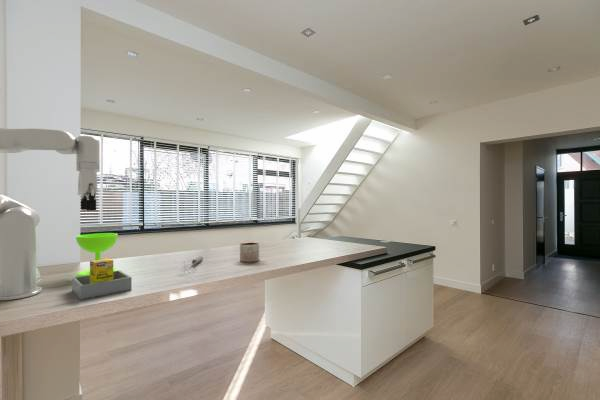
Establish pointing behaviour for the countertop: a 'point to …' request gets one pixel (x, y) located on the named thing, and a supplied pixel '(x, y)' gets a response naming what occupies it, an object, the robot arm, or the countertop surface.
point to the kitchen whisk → (194, 262)
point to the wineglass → (96, 245)
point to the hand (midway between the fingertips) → (88, 210)
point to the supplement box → (101, 270)
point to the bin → (100, 286)
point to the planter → (249, 252)
